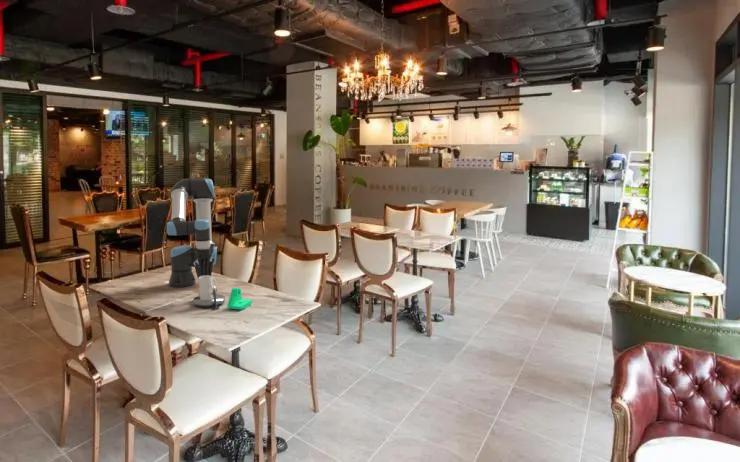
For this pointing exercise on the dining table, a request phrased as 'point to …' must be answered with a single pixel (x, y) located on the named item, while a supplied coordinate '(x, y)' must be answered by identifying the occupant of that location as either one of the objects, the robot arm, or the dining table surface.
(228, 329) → the dining table surface
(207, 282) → the mug
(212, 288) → the gauge post
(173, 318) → the dining table surface
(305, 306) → the dining table surface
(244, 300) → the camera mount
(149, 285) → the dining table surface
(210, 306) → the turntable base
